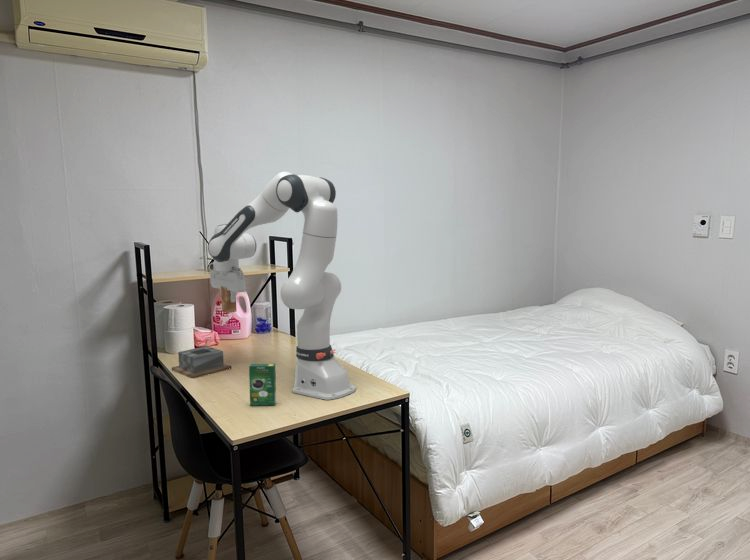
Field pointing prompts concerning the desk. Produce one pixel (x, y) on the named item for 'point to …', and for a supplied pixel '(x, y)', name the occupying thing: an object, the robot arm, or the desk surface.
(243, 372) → the desk surface
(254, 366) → the coffee box
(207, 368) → the hole block
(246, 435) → the desk surface
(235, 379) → the desk surface
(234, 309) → the peg
